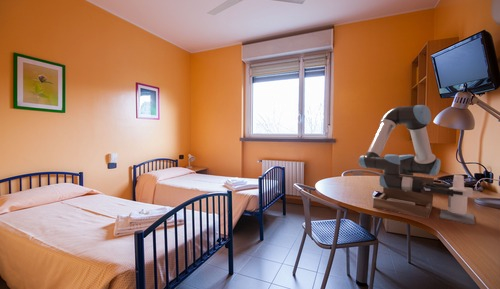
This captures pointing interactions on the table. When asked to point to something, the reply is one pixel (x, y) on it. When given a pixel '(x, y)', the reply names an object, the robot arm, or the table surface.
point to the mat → (457, 217)
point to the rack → (406, 200)
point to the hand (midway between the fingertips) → (472, 192)
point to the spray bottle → (457, 197)
